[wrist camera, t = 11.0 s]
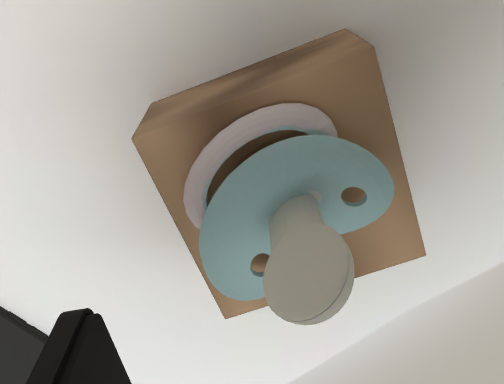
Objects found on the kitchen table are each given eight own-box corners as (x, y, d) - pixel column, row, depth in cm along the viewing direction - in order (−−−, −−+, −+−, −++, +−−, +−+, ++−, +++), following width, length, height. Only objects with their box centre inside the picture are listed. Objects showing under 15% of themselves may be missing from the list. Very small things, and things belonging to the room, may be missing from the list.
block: (343, 27, 20) (374, 46, 16) (390, 200, 24) (426, 255, 20) (152, 101, 22) (131, 138, 17) (226, 255, 25) (225, 319, 21)
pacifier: (149, 187, 18) (252, 284, 20) (106, 285, 12) (255, 408, 14) (300, 58, 16) (397, 180, 18) (331, 103, 11) (467, 273, 12)
